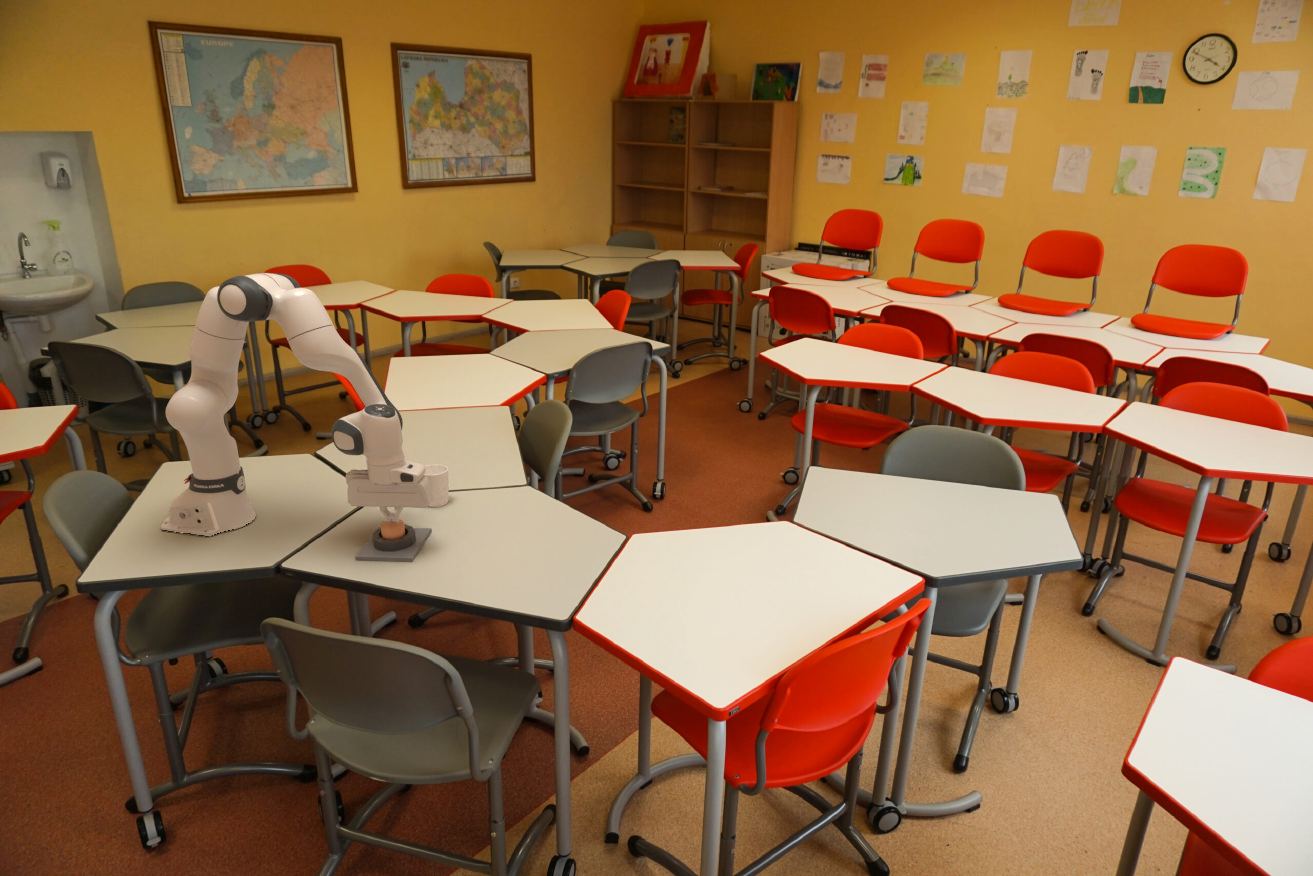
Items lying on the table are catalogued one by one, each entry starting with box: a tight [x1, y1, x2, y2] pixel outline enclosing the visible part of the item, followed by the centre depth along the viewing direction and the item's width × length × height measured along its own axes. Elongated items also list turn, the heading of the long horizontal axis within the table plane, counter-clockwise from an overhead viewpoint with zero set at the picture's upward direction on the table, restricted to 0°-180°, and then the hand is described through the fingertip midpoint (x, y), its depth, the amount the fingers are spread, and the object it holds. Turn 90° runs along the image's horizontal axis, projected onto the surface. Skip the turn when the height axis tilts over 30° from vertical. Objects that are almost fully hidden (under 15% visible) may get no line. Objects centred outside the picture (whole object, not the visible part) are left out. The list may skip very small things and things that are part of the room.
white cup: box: [424, 463, 450, 508], centre depth 227 cm, size 8×8×10 cm
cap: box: [380, 519, 405, 540], centre depth 203 cm, size 6×6×5 cm
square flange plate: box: [354, 523, 433, 563], centre depth 204 cm, size 14×16×4 cm
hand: (392, 521), depth 202 cm, fingers closed
